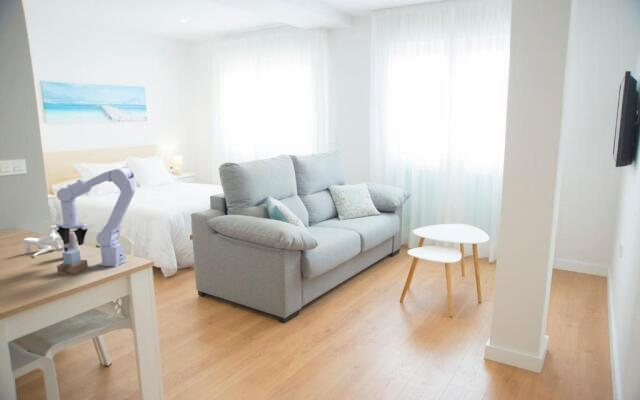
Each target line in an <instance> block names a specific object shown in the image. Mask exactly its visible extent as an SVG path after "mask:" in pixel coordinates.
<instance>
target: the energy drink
mask: <svg viewBox="0 0 640 400" xmlns="http://www.w3.org/2000/svg"><path fill="white" fill-rule="evenodd" d="M74 231H75V230H70V231H69V239H70V242H69V244H64V242H63V241H62V243H63V246H64V249H63V252H66V251H69V250H78V241H77V237H76V234H75V233H74Z"/></svg>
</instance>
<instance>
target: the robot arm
mask: <svg viewBox="0 0 640 400" xmlns="http://www.w3.org/2000/svg"><path fill="white" fill-rule="evenodd" d="M135 177H136V176H135V174H134V172H133V170H132V169H131V168H130V167H128V166H122V167H120V168H115V169H112V170H108V171H104V172H102V173H101V174H98V175H95V176H94V177H92V178H90V179H85V178H83V179H80V178H79V179H77V180H76V182H73V183H72V184H71V183H70V184H67V186H66V187H61V188H60V189H58V190H57V192H56V198H57V199H58V200H59V201H60V208H61V216H62V222H59V223H56V224H55V226H57V228H56V232H57V233H58V236H59V235H60V236H61V238H62V240H61V241H62V243H63V242H64V244H69V242H70V239H69V231H71V229H75V230H73V231H74V233H75V235H76V242H77V246H82V245H84V242H85V237H86V234H87V231H88V225H87V223H86V224H85V223H80V222H79V216H78V215H79V214H78V208H77V207H78V206H77V198H78V197H81V196H82V195H84V194H86V193H89V192H91V190H92V187H95V186H97V185H99V184H100V185H101V184H102V183H104V182H109V183H110V182H112V183H113V184H114V185H115V186H116V187H117V188H118V189H119V191H120V193H119V195H118V198H117V201H116V203H115V205H114V207H113V209H112V212H111V214H110V216H109V218H108V220H107V223H106V224H105V225H104V226H103V228H102V230H101V231H100V232H99V233H98V234H97V235H96V242H97V243H98V245H100V247H99V248H100V254H101V262H99V263H98V264H97V265H98V266H101V267H102V266H105V267H113V268H114V267H118V266H120V265H122V264H124V263H126V262H128V259H127V257H126V249H125V246H124V245H123V244H120V243H119V240H118V239H119V237H120V230H121V223H122V221H123V219H124V217H125V214H126V212H127V211H128V208H129V206H130V204H131V202H132V200H133V197H134V195H135V192H136V185H135ZM64 244H63V245H64Z"/></svg>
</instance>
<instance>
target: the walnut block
mask: <svg viewBox="0 0 640 400" xmlns="http://www.w3.org/2000/svg"><path fill="white" fill-rule="evenodd" d="M88 265H89V264H88V260H87V259H81V262H79V263H76V264H74V265H66V264H64V262H62V263H60V264H58V265H56V268H57V269H56V270H57V275H72V276H73V275H74V276H75V275H78V274H79V273H82V272H83V271H85V270H87V269H89V266H88Z"/></svg>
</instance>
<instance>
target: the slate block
mask: <svg viewBox="0 0 640 400" xmlns="http://www.w3.org/2000/svg"><path fill="white" fill-rule="evenodd" d="M62 260H63V261H62V263H64V264H66V265H74V264H76V263H79V262H81V260H82V259H81V251H80V250H69V251H66V252H65V251H63V252H62Z"/></svg>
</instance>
